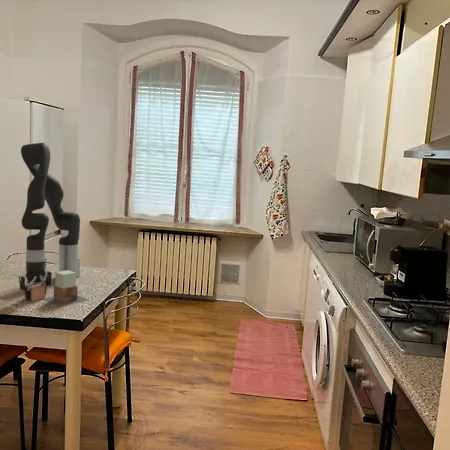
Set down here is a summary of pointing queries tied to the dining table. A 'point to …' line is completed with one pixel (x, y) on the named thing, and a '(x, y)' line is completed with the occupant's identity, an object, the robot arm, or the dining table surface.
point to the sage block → (65, 279)
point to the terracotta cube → (37, 292)
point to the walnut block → (65, 294)
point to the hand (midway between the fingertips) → (35, 297)
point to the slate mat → (60, 304)
